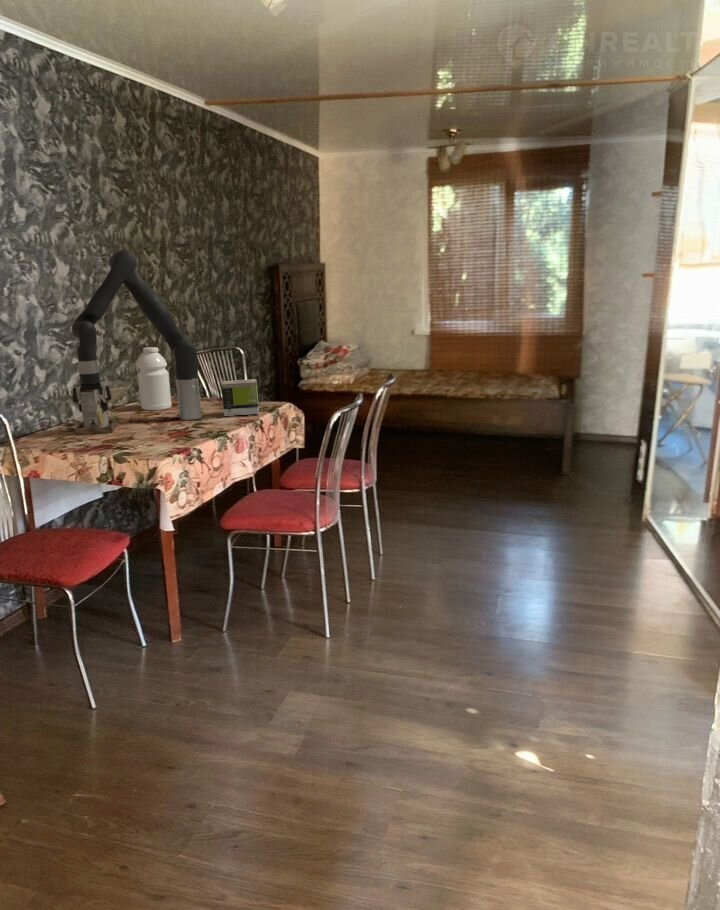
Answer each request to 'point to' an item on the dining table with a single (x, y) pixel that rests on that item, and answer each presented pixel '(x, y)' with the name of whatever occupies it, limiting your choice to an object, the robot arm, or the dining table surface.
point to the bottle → (153, 381)
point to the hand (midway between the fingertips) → (94, 411)
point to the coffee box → (93, 408)
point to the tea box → (240, 397)
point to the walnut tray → (95, 429)
